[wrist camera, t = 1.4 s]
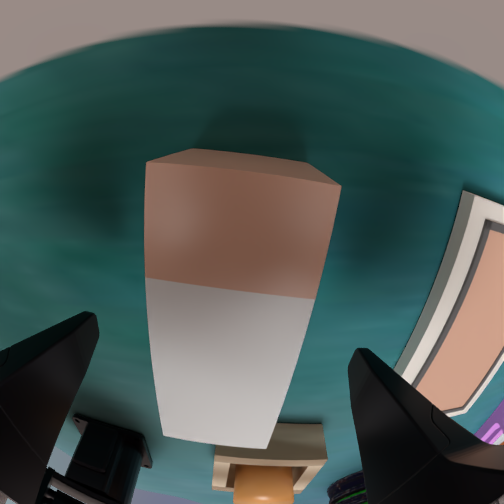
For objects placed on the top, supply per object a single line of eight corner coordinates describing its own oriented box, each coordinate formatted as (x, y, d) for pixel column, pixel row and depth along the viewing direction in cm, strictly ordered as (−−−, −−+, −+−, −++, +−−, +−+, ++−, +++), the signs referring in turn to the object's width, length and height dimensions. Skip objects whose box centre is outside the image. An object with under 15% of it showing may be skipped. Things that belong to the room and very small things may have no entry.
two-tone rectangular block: (265, 372, 15) (266, 448, 11) (183, 361, 15) (163, 435, 11) (307, 162, 11) (341, 186, 6) (192, 148, 11) (146, 161, 6)
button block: (297, 464, 20) (299, 493, 17) (215, 460, 20) (211, 489, 17) (322, 424, 17) (327, 459, 15) (219, 418, 17) (214, 455, 14)
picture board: (461, 404, 18) (466, 414, 16) (363, 418, 17) (367, 431, 16) (551, 227, 11) (562, 233, 10) (462, 190, 11) (477, 196, 10)
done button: (285, 477, 18) (286, 509, 15) (233, 475, 18) (230, 507, 15) (297, 457, 16) (300, 494, 13) (238, 454, 16) (235, 492, 13)
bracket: (510, 388, 18) (538, 434, 11) (534, 378, 18) (561, 418, 12) (450, 457, 23) (465, 498, 17) (478, 447, 23) (494, 483, 17)
